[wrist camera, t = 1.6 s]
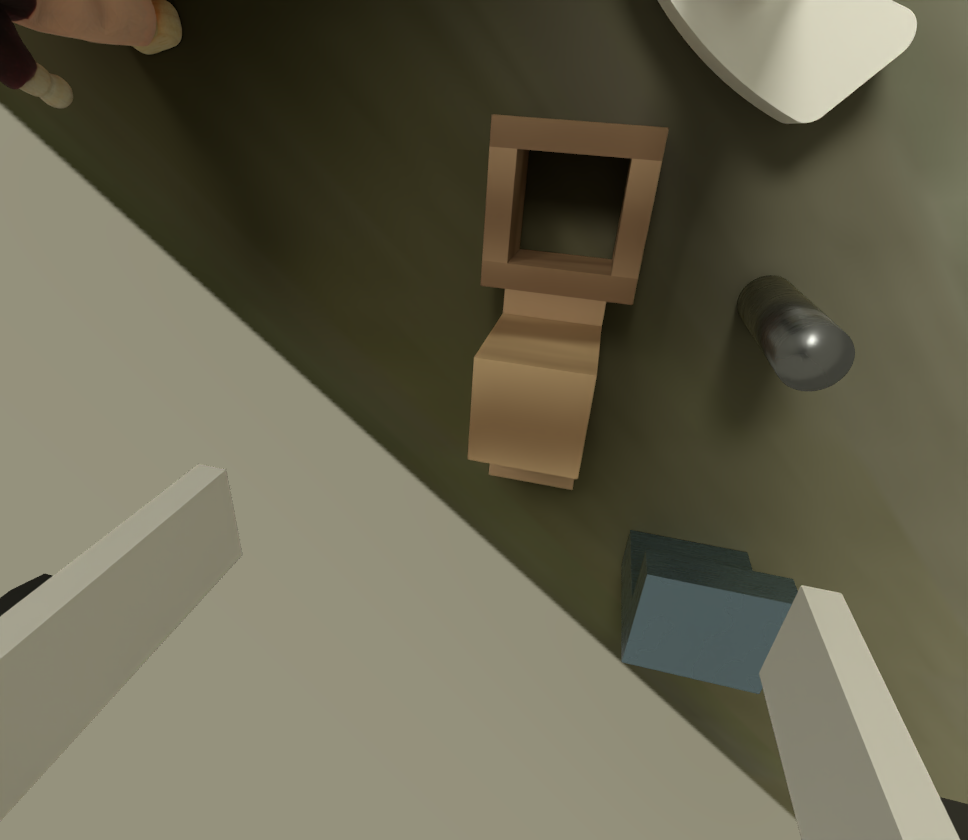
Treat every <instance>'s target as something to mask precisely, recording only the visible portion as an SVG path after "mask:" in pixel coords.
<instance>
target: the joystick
mask: <svg viewBox="0 0 968 840" xmlns="http://www.w3.org/2000/svg"><path fill="white" fill-rule="evenodd" d="M657 1H658V2H659V4H660V6H661V7H662V9H663V10H664V12H665V13H666V15H667V16H668V18H669V19H670V21H671V22H672V24H673V25H674V26H675V28H676V29H677V31H678V32H679V33H680V34H681V36H682V37H683V38H684V40H685V41H686V42H687V43H688V45H689V46H690V47H691V48H692V49H693V51H694V52H695V53H696V54H697V55H698V56H699V57H700V58H701V60H702V61H703V62H704V63H705V64H706V65H707V66H708V67H709V68H710V69H711V70H712V71H713V72H714V73H715V74H716V75H717V76H718V77H719V78H720V79H722V80H723V81H724V82H725V83H726V84H727V85H728V86H729V87H731V88H732V89H733V90H734V91H735V92H737V93H738V94H739V95H740V96H742V97H743V98H744V99H746V100H747V101H748V102H750V103H751V104H752V105H754V106H755V107H757V108H758V109H760V110H761V111H763V112H764V113H766V114H767V115H769V116H771V117H772V118H774V119H776V120H777V121H779V122H781V123H784V124H794V123H810V122H813V121H816V120H818V119H820V118H821V117H822V116H824V115H825V114H826V113H827V112H829V111H830V110H831V109H832V108H834V107H835V106H836V105H837V104H839V103H840V102H841V101H842V100H844V99H845V98H846V97H847V96H849V95H850V94H851V93H852V92H854V91H855V90H856V89H857V88H859V87H860V86H861V85H862V84H864V83H865V82H866V81H867V80H869V79H870V78H871V77H872V76H874V75H875V74H876V73H877V72H879V71H880V70H881V69H882V68H884V67H885V66H886V65H887V64H889V63H890V62H891V61H892V60H894V59H895V58H896V57H897V56H899V55H900V54H901V53H902V52H903V51H905V50H906V48H907V47H908V46H909V45H910V43H911V42H912V40H913V38H914V36H915V33H916V29H917V21H916V17H915V15H914V13H913V12H912V11H911V10H910V9H908V8H906V7H904V6H902V5H900V4H898V3H896V2H894V1H892V0H657Z"/></svg>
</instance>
